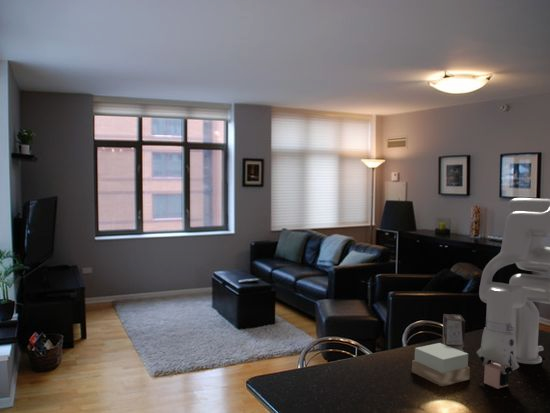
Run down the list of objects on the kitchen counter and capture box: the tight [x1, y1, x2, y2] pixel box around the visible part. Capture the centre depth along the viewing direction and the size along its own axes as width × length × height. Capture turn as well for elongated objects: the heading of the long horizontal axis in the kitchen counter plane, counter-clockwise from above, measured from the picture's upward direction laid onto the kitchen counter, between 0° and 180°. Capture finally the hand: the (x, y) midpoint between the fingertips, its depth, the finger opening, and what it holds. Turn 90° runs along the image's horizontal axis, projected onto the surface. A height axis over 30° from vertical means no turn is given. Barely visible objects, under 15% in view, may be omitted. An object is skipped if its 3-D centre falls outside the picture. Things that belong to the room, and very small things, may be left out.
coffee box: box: [441, 313, 466, 352], centre depth 176 cm, size 9×6×16 cm
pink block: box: [483, 362, 509, 389], centre depth 156 cm, size 5×5×6 cm
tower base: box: [411, 359, 471, 387], centre depth 163 cm, size 13×13×4 cm
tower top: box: [414, 342, 469, 373], centre depth 162 cm, size 12×12×4 cm
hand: (495, 381), depth 156 cm, fingers closed on pink block, 5 cm apart
